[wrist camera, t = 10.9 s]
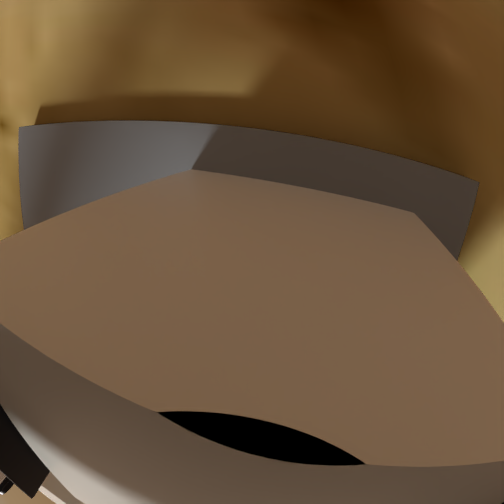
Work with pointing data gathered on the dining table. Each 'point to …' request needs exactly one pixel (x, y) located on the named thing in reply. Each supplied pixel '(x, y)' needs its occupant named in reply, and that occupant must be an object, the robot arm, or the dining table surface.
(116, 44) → the dining table surface
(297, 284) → the block
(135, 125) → the board
